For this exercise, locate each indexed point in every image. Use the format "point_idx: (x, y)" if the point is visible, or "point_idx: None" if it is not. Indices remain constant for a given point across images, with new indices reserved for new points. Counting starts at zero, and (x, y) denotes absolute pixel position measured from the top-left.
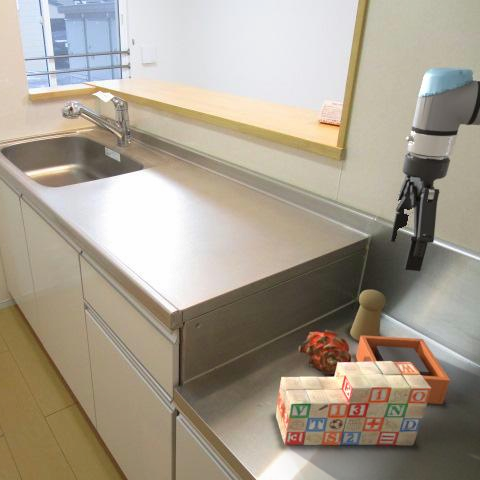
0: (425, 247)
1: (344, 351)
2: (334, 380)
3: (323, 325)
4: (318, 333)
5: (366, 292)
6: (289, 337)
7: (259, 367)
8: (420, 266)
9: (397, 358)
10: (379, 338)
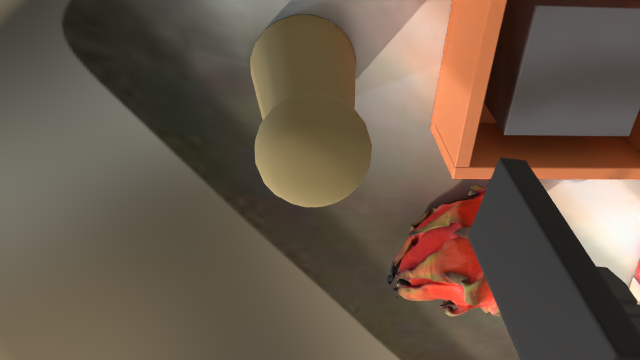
0: (612, 304)
1: None
2: None
3: (251, 184)
4: (430, 289)
5: (306, 196)
6: (328, 280)
7: (454, 346)
8: (536, 186)
9: (585, 91)
10: (478, 123)
